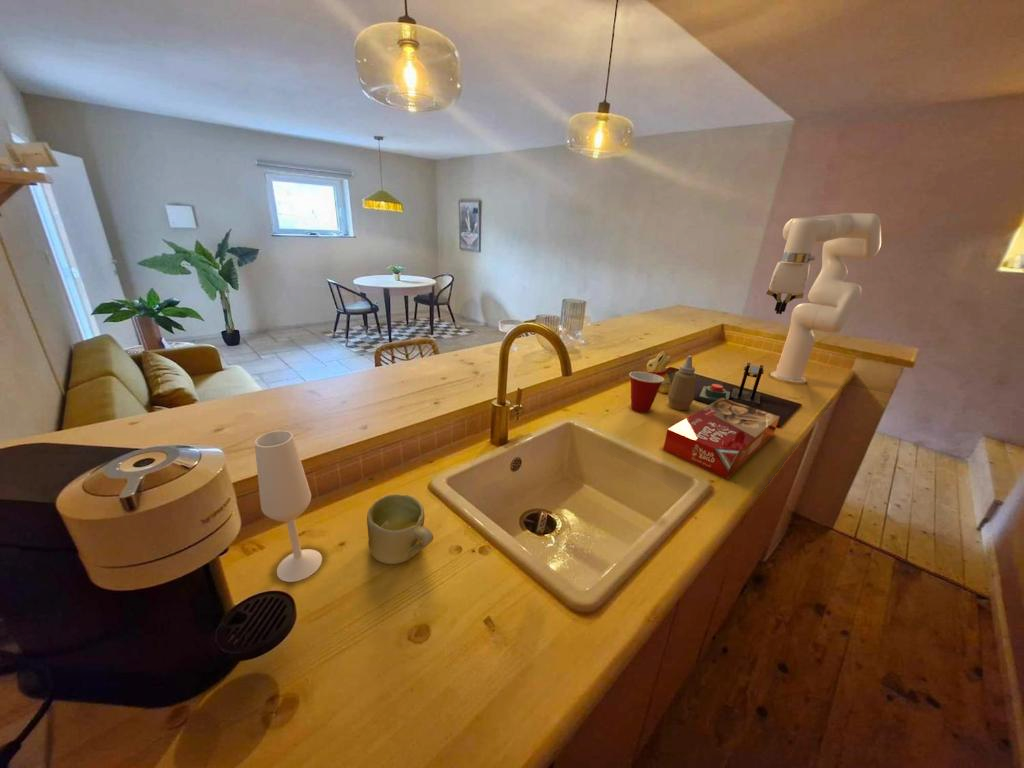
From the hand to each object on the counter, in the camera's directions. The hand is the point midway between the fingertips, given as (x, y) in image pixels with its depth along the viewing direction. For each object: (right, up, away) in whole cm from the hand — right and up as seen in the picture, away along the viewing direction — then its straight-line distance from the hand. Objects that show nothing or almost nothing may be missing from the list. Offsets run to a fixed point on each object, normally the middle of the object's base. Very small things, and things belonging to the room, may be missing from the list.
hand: (778, 313), depth 136 cm
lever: (-6, -22, +5) cm, 23 cm away
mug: (-113, -54, -68) cm, 142 cm away
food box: (-34, -42, -26) cm, 60 cm away
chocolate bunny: (-40, -27, +9) cm, 49 cm away
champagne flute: (-129, -55, -72) cm, 157 cm away
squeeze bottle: (-37, -33, -5) cm, 50 cm away
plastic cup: (-51, -33, -8) cm, 62 cm away
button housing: (-21, -30, +3) cm, 37 cm away
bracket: (-9, -30, +5) cm, 32 cm away
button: (-21, -27, +1) cm, 34 cm away
